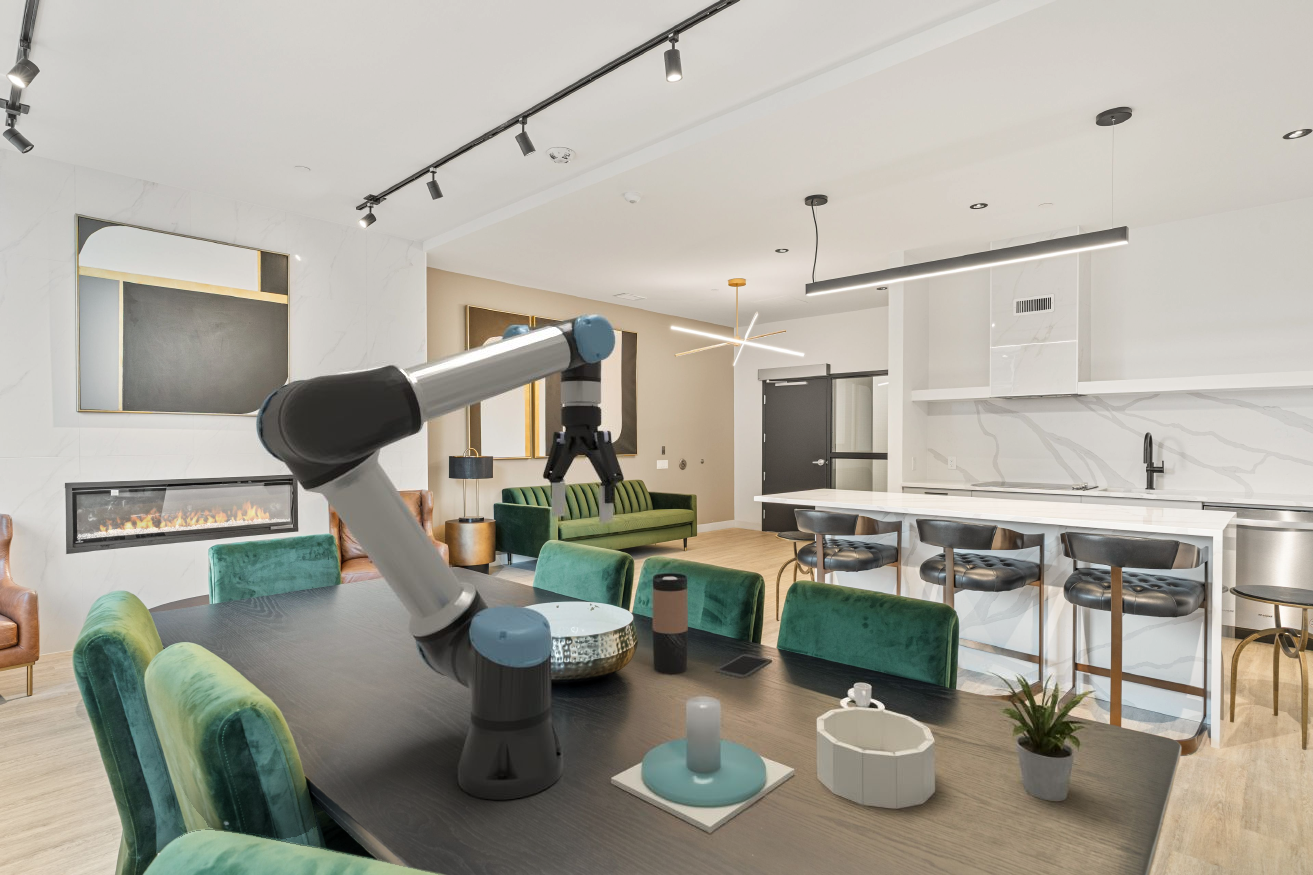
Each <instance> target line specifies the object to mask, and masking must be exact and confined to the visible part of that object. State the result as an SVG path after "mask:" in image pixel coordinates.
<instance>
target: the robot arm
mask: <svg viewBox="0 0 1313 875" xmlns="http://www.w3.org/2000/svg"><path fill="white" fill-rule="evenodd" d="M609 321H610V320H608V319H606V317H604V316H602V315H600V314H595V313H594V314H583V315H580V316H579V317H574V318H569V319H566V320H562V321H555V322H552V323H548V324H543V325H538V326H530V325H527V324H523V325H520V324H513V325H511V326H510V325H509V327H508V328H507V329H506V330H505V331H504V333H503V335H502V339H499V340H496V341H493V342H490V343H486V344H484V345H483V344H482V345H480V346H477V347H473V348H470V349H467V350H463V351H459V352H457V353H453V354H450V355H449V354H448V355H447V356H446V355H445V356H443V357H440V358H437V359H433V360H430V361H427V362H426V361H425V362H423V363H419V364H417V365H414V366H409V367H407V368H406V367H405V368H402V367H399V365H395V364H389V365H385V366H382V367H380V368H379V367H378V368H376V369H370V370H364V371H358V372H351V373H343V374H342V373H341V374H332V375H331V374H330V375H320V376H316V377H311V378H308V379H299V380H293V381H291V382H290V383H286V384H283V385H281V387H279V388H278V389H276V390H274V391H273V392H272V393H271V394H269V395H268V396H267V397H266V398H265V399H264V401H263V402H262V404H261V406H260V408H259V410H258V413H257V416H256V423H255V424H256V428H255V429H256V432H257V437H258V439H259V441H260V443H261V445H262V446H263V448H264V449H265V450H266V451H267V453H269V454H270V455H271V456H272V457H273V458H275V459H276V460H278V461H280V462H282V463H284V464H285V465H286V468H288V469H289V471H290V472H291V474H292V475H293V476H294V478H295V479H296V481H298V483H299V484H300V486H301V487H302V488H303V490H304V491H306V492H308V493H309V492H310V493H315V494H320V495H322V496H324V498H325V500H326V501H327V503H328V504H329V506H331V508H332V509H333V510H334V512H335V514H336V515H337V516H338V517H339V520H341V521H342V523H343V525H345V527H346V529H347V530H348V531H349V533H350V535H352V537H353V538H354V539H355V541H356V542H357V543H358V545H359V546H360V547H361V549H362V550H363V552H364V553H365V554H366V556H367V557H368V559H369V560H370V562H371V563H372V564H373V566H375V569H377V570H378V573H380V575H381V577H383V579H384V580H385V582H386V583H387V585H388V586H389V587H390V589H391V590H392V591H393V593H394V594H395V596H396V597H397V599H398V600H399V601H400V603H401V604H402V605H403V606H404V608H405V609H406V611H407V612H408V613H409V615H410V619H409V623H408V631H409V633H410V634H411V636H412V637H413V638H414V640H415V645H416V649H417V653H418V655H419V657H420V658H421V659H422V661H423V662H424V663H425V664H426V666H428V668H430V669H431V670H432V671H434V672H435V673H437V674H439V675H441V676H444V677H448V678H449V679H451V680H453V681H454V682H456V683H458V684H460V685H461V686H464V687H465V688H468V689H469V690H470V725H469V730H468V732H467V735H466V739H465V742H464V745H463V748H462V752H461V756H460V758H459V761H458V763H457V764H458V766H457V779H458V780H457V782H458V785H459V787H460V788H461V789H462V790H463V791H464V792H465V793H467V794H469V795H471V796H474V797H477V798H480V799H486V800H512V799H518V798H523V797H528V796H530V795H534V794H537V793H539V792H542V791H543V790H546V789H548V788H549V787H550V786H551V787H552V785H554V784H555V783H556V782H557V781H558V780H559V779H560V778H561V776H562V774H563V771H564V755H563V749H562V746H561V743H560V740H559V738H558V734H557V732H556V729H555V724H554V722H553V720H552V649H553V641H552V632H551V625H550V622H549V621H548V619H547V618H546V616H545V615H544V614H542V613H541V612H539V611H537V610H534V609H532V608H529V607H523V606H522V607H517V606H515V605H500V606H499V605H498V606H493V607H489V606H488V605H487V603H486V602H485V600H484V598H483V597H482V596H481V594H480V593H479V591H478V590H477V588H476V587H475V586H474V584H472V583H470V582H465V581H459V579H458V578H457V577H456V575H455V573H454V572H453V571H452V569H451V568H450V566H449V564H448V563H447V562H446V560H445V559H444V557H443V556H442V554H441V553H440V551H439V550H438V549H437V546H436V545H435V544H434V542H433V541H432V539H431V538H430V536H429V535H428V533H426V531H425V530H424V527H423V526H422V525H421V523H420V522H419V520H418V519H417V517H416V516H415V514H414V512H412V510H411V509H410V508H411V507H409V506H408V504H407V502H406V501H405V500H404V498H403V497H402V495H401V494H400V493H399V490H398V489H397V488H396V486H395V485H394V483H393V482H392V481H391V479H390V477H389V476H388V474H387V473H386V471H385V470H384V468H383V467H382V465H381V464H380V462H379V456H380V451H381V449H382V448H385V447H387V446H389V445H391V444H394V443H396V442H399V441H401V440H403V439H405V438H408V437H410V436H413V435H416V434H418V433H420V432H421V431H422V429H423V427H424V425H425V424H424V423H426V422H429V421H433V420H435V419H437V418H440V417H443V416H446V415H448V414H450V413H451V414H452V413H454V412H456V411H459V410H461V409H464V408H467V407H470V406H472V405H473V406H474V405H475V404H477V403H480V402H483V401H487V400H489V399H492V398H494V397H496V396H500V395H501V394H505V393H507V392H510V391H513V390H516V389H519V388H521V387H524V386H526V385H529V384H532V383H534V382H537V381H539V380H542V379H546V378H549V377H551V376H554V375H556V374H559V373H560V379H561V380H560V403H561V404H562V405H563V406H562V408H561V409H560V418H561V419H560V420H561V421H560V424H561V426H562V427H564V429H565V430H564V431H554V432H553V436H552V437H553V438H552V444H551V447H550V451H549V455H548V458H547V461H546V464H545V467H544V470H543V474H542V478H543V479H545V480H548V482H549V483H550V499H551V517H552V518H559V517H566V482H565V481H566V480H565V479H564V477H565V476H566V474H567V472H568V470H569V468H570V467H571V465H572V464H573V461H574V460H575V459H576V458H577V457H579V456H585V457H586V458H588V460H589V462H590V463H591V465H592V467H593V469H594V471H595V473H596V474H597V476H598V478H599V479H600V481H601V483H600V484H599V485H598V489H599V490H598V498H599V500H598V509H599V510H598V514H599V515H598V521H599V523H608V522H613V521H614V504H615V501H616V485H617V484H618V483H621V482H622V483H623V481H624V479H625V477H624V475H623V471H622V467H621V465H620V463H619V460H618V457H617V455H616V451H615V449H614V444H613V443H612V441H613V440H612V433H611V430H598V429H599V427H600V426H601V425H602V408H601V406H599V405H600V404H602V361H604V360H606V359H607V358H608V357H610V355H611V354H612V353H613V351H614V349H615V346H616V336H615V331H614V328H613V326H612V324H611V323H610V322H609Z"/></svg>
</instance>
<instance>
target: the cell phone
mask: <svg viewBox="0 0 1313 875" xmlns="http://www.w3.org/2000/svg"><path fill="white" fill-rule="evenodd" d="M772 662H773V660H772V659H770V658H767V657H762V656H756V655H751V654H748V653H747V654H745V653H744V654H742V655H740V656H737V657H736V658H734V659H732V660H730V661H729V662H726V663H725V664H723V665H721V666H719V667H718V668H716V669H715V670H714V673H716V672H717V673H716V674H718V673H721V674H720V675H723V674H725V675H724V676H727V675H729V677H732V676H734V677H733V678H736V677H737V678H736V679H741V678H745V679H747V678H748V676H749V677H750V676H752V675H753V673H754V674H756V673H757V672H759V671H760V670H761V668H762V669H763V668H765V667H767V666H768V665H769V664H771V663H772ZM756 671H757V672H756ZM751 674H752V675H751ZM746 677H747V678H746Z"/></svg>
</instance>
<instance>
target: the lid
mask: <svg viewBox="0 0 1313 875" xmlns="http://www.w3.org/2000/svg"><path fill="white" fill-rule="evenodd" d="M685 704H686V705H685V709H686V710H685V712H686V713H685V720H686V721H685V722H686V724H685V726H686V727H685V728H686V729H685V732H686V734H685V735H686V736H685V737H684V738H679V739H673V740H670V741H666V742H664V743H662V744H659V745H657V746H655V747H654V748H652V749H650V750H649V751H648V752H647V753H646V754H645V755H644V757H643V759H642V761H641V762H642V779H643V782H644V784H645V785H646V786H647V787H648V788H649V789H650V790H651V791H652V792H653V793H655V794H656V795H658V796H660V797H661V798H664V799H666V800H668V801H671V802H674V803H678V804H682V805H687V806H694V807H722V806H729V805H733V804H737V803H740V802H743V801H746V800H748V799H750V798H752V797H754V796H755V795H757V794H758V793H759V792H760V791H761V790H762V789H763V787H764V785H765V783H766V766H765V763H764V761H763V759H762V758H761V757H762V756H761V755H759V754H758V753H757V752H755V750H753V749H751V748H749V747H747V746H746V745H743V744H740V743H737V742H736V741H735V742H734V741H731V740H727V739H721V736H722V735H721V734H722V732H721V730H722V728H721V726H722V725H721V724H722V723H721V722H722V721H721V719H722V718H721V714H722V713H721V710H722V709H721V706H722V705H721V704H722V703H721V701H720V700H719V699H718V698H715V697H711V696H707V695H705V696H700V695H699V696H694V697H690V698H688V699H687V700H686V701H685ZM760 756H761V757H760Z"/></svg>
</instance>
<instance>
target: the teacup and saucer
mask: <svg viewBox="0 0 1313 875" xmlns="http://www.w3.org/2000/svg"><path fill="white" fill-rule="evenodd" d="M850 701H854V702H855V704H856V707H863V708H870V705H871V703H874V704H875V705H876V706H877V709H884V710H886V709H885V708H886V707H885V705H884V704H883V703H882V702H881V701H878V700H876V699H873V698H872V685H871V684H869V683H866V682H856V683H854V684H853V687H852V688H849V689H848V690H847V697H845V698H842V699H841V700H840V701H839V705H840V706H841V707H842V708H849V707H850V706H849V705H848V703H849V702H850Z"/></svg>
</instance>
